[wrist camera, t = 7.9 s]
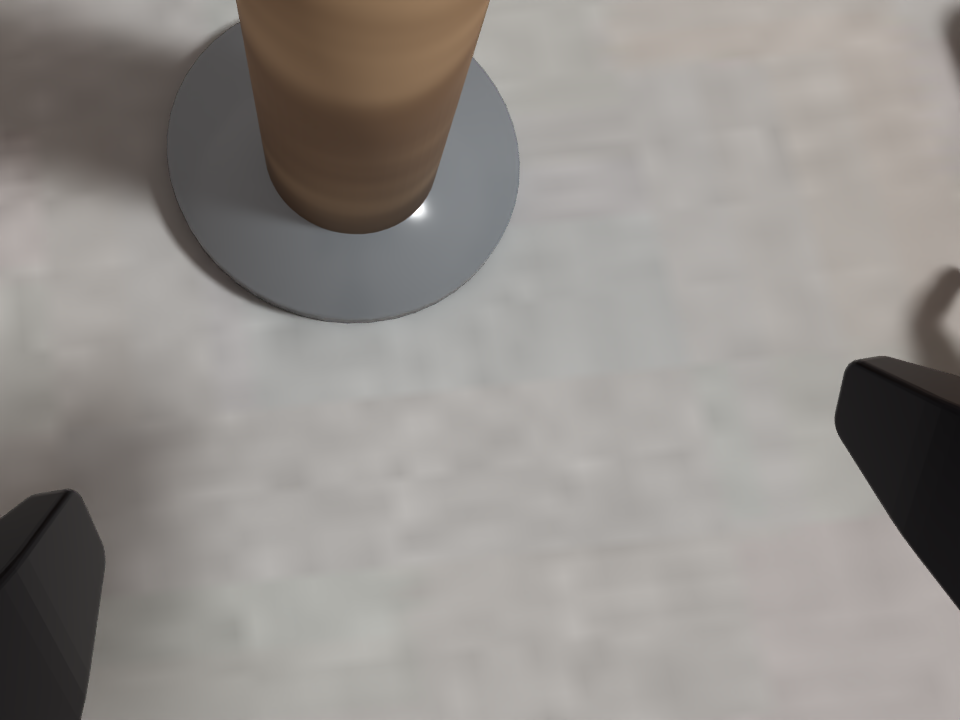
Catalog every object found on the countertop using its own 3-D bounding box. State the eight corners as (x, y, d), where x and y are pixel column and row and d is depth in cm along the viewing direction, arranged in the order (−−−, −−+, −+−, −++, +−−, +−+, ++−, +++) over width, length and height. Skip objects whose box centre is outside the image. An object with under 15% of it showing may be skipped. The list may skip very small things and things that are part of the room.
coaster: (443, 378, 18) (446, 373, 18) (104, 233, 18) (97, 224, 17) (557, 99, 21) (564, 87, 20) (266, -41, 20) (264, -57, 19)
